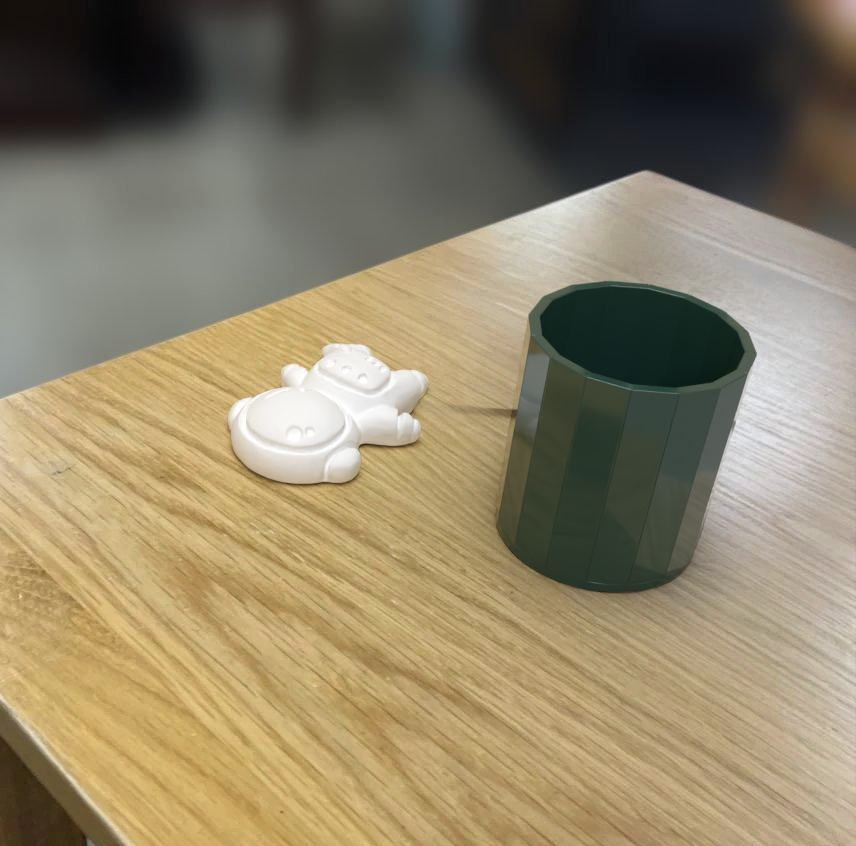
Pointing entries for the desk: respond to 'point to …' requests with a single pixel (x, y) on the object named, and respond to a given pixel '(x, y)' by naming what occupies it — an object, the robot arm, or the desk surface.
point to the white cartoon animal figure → (326, 417)
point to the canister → (619, 432)
